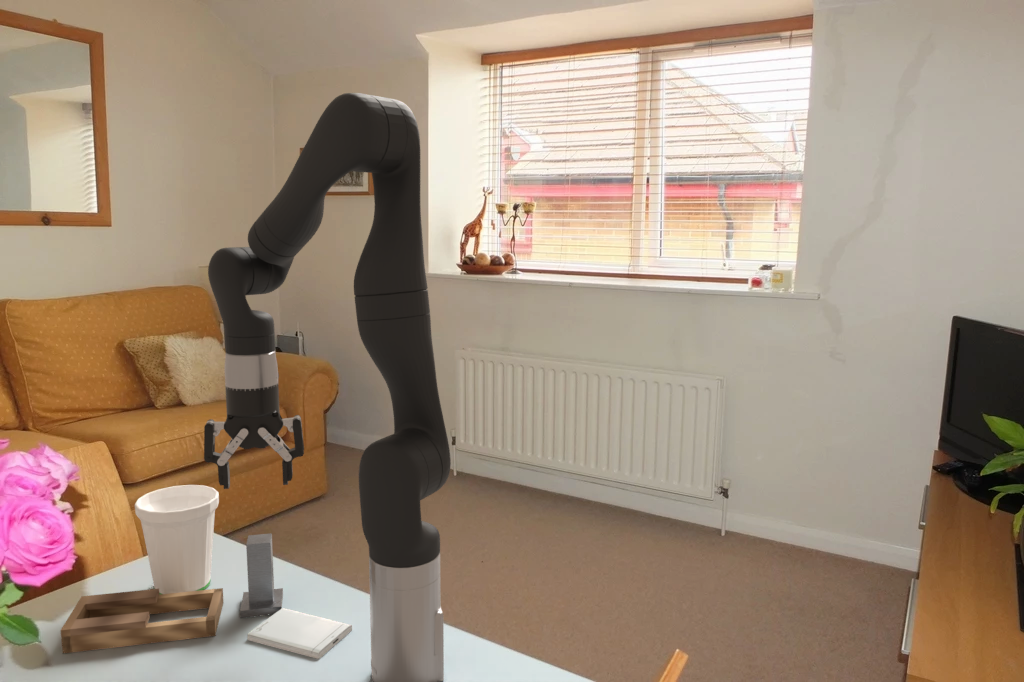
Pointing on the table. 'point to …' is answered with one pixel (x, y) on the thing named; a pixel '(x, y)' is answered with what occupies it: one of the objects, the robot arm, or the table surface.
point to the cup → (179, 536)
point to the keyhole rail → (138, 619)
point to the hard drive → (299, 633)
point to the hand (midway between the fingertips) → (256, 485)
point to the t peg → (260, 579)
